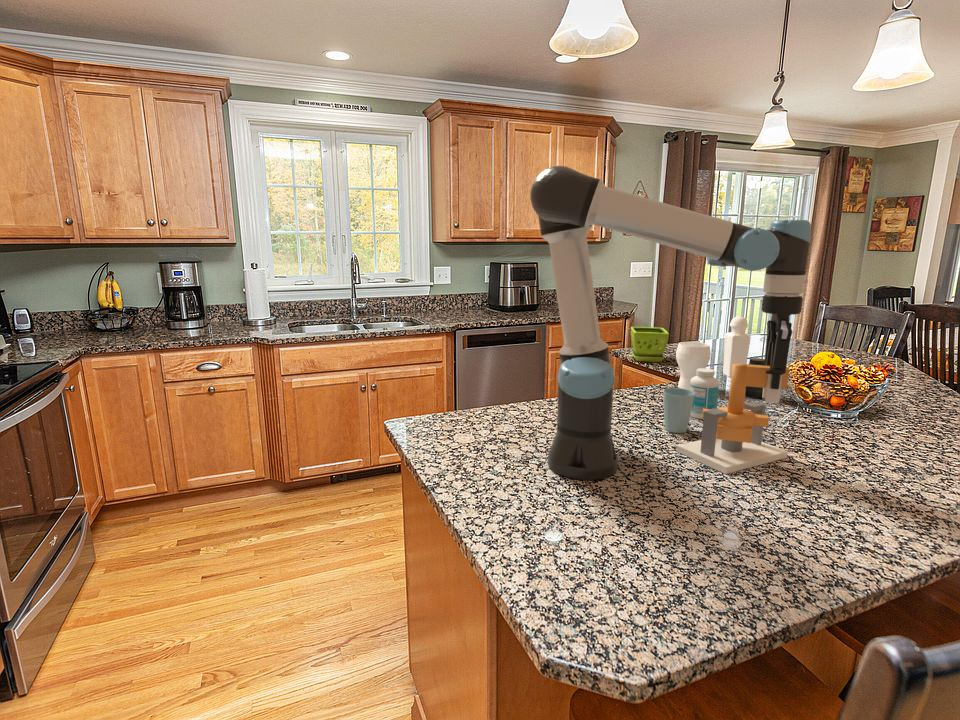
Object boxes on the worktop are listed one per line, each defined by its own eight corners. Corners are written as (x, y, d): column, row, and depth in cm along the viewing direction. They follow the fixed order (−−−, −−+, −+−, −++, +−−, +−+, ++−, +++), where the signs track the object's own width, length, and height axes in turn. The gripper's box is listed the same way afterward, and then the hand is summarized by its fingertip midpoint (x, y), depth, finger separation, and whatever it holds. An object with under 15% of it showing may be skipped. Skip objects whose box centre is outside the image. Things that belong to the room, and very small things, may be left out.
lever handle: (781, 447, 116) (791, 372, 112) (700, 437, 122) (707, 366, 118) (776, 435, 123) (785, 364, 120) (701, 426, 129) (707, 358, 126)
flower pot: (631, 362, 217) (633, 331, 214) (628, 355, 231) (630, 326, 228) (667, 363, 215) (669, 332, 212) (661, 356, 228) (664, 327, 225)
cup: (687, 425, 144) (690, 388, 141) (694, 435, 136) (698, 396, 134) (658, 424, 145) (660, 387, 142) (663, 434, 137) (666, 395, 135)
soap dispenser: (746, 377, 192) (753, 317, 188) (728, 377, 193) (734, 317, 188) (738, 373, 199) (744, 315, 194) (720, 373, 199) (726, 315, 194)
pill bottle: (711, 412, 154) (715, 367, 152) (719, 420, 147) (724, 373, 144) (684, 411, 155) (688, 366, 152) (691, 419, 148) (695, 372, 145)
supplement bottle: (767, 394, 171) (771, 358, 169) (765, 400, 166) (769, 362, 163) (743, 391, 175) (747, 356, 172) (741, 396, 169) (745, 360, 167)
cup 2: (678, 382, 187) (682, 340, 184) (710, 386, 181) (714, 343, 178) (669, 388, 179) (673, 345, 175) (702, 394, 173) (706, 348, 169)
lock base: (725, 474, 114) (730, 423, 111) (676, 451, 126) (679, 405, 124) (787, 457, 122) (793, 410, 120) (735, 437, 135) (739, 394, 132)
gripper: (812, 298, 105) (797, 412, 110) (794, 291, 120) (782, 392, 125) (769, 297, 107) (757, 408, 113) (757, 290, 122) (746, 389, 127)
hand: (770, 399), depth 119 cm, fingers closed on lever handle, 3 cm apart
